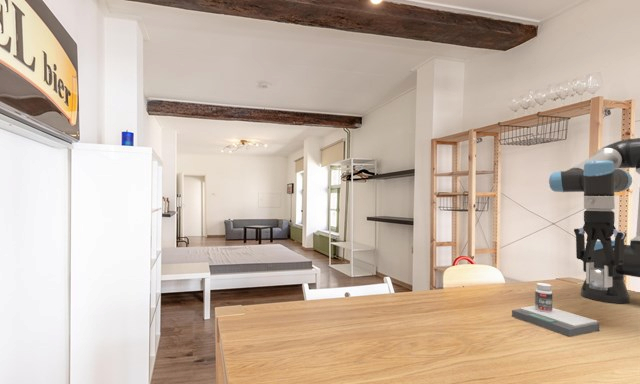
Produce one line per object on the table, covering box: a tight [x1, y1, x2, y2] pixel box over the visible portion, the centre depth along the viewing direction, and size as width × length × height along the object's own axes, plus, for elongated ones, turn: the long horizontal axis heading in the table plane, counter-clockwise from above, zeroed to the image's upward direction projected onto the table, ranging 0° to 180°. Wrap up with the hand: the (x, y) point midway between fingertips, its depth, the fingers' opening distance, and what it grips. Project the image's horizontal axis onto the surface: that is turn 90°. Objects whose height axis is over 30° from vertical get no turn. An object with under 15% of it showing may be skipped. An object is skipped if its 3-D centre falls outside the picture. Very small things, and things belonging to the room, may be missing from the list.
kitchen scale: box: [511, 305, 600, 338], centre depth 109 cm, size 14×18×3 cm
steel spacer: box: [589, 268, 608, 290], centre depth 108 cm, size 4×4×6 cm
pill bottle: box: [534, 282, 553, 312], centre depth 113 cm, size 5×5×8 cm
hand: (599, 284), depth 109 cm, fingers closed on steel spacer, 4 cm apart
